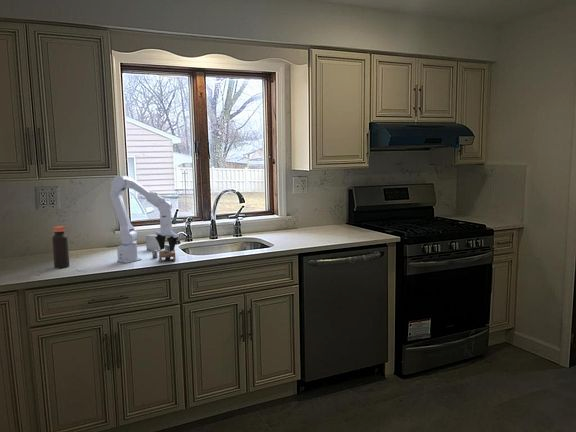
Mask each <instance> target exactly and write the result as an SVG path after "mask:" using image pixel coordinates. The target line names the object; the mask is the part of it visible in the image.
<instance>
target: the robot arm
mask: <svg viewBox="0 0 576 432" xmlns="http://www.w3.org/2000/svg"><path fill="white" fill-rule="evenodd" d="M110 185H111V187H110V191H109V196H110V199H111V201H112V205H113V208H114V211H115V214H116V217H117V221H118V224H119V226H120V229H119V234H120V236H119V241H120V242H121V243H122V244H121V245H118V247H117V249H116V250H117V260H116V261H117V262H119V263H123V264H128V263H133V262H136V261H141V260H142V258H140V257H139V258H138V241H137V240H138V237H139V233H138V232H137V230H136V229H135V227H134V225H132V223H131V220H130V217H129V214H128V211H127V208H126V205H125V202H124V201H125V200H124V199H123V196H122V195H123V194H124V192H125V191H126V189H132V190H134V191H135V192H137V193H139V194H140V195H142V196H143V197H145V199H146V201H147V202H148V203H149V204H151V205H152V206H153V207H155V208H157V210H158V211H159V223H160V231H159V230H158V231H155V235H157V236H156V237H155V238H156V240H157V241H158V244H159V247H160V250H165V245H166V244H165V242H166V240H167V242H168V245H169V249H170V251H174V250H175V246H176V244H177V241H178V239H179V237H178V233H176V232H174V231H173V224H172V222H173V221H172V218H173V217H172V208H173V204H172V202H171V201H170V200H168V199H166V198H165V197H162V196H160V195H159V193H158V191H149V190H148V189H147V188H145V187H144V186H143V185H141V184H140V183H138V181H136V180H135V179H133V178H132V177H130V176H129V175H125V174H124V175H117V176H115V177H114V178H113V179H112V180H111V181H110ZM166 237H167V238H166ZM160 250H159V251H160Z"/></svg>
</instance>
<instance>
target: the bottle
mask: <svg viewBox="0 0 576 432" xmlns="http://www.w3.org/2000/svg"><path fill="white" fill-rule="evenodd" d="M65 229H66V226H65V225H63V226H62V225H59V226H53V233H54V235H53V236H52V237H51V241H52V254H53V267H54V269H64V268H65V269H66V268H69V267H70V256H69V239H68V236H67V234H65V231H66V230H65Z"/></svg>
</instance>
